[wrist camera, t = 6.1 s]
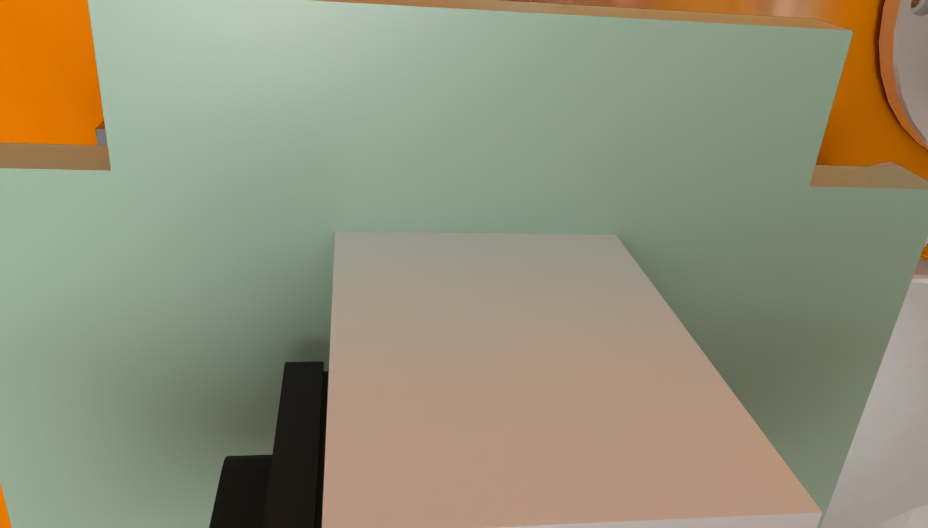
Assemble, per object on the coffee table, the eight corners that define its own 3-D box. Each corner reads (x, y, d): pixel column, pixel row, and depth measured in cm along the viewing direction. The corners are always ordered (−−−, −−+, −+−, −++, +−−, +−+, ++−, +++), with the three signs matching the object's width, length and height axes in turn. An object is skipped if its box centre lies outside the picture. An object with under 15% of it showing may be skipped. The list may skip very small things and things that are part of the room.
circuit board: (949, 26, 11) (1556, 177, 6) (757, 597, 17) (972, 975, 11) (-81, -34, 9) (-773, 107, 4) (70, 640, 15) (-113, 1134, 9)
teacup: (842, 443, 36) (958, 580, 29) (588, 438, 34) (647, 584, 27) (971, 136, 30) (1160, 217, 23) (667, 109, 28) (770, 188, 21)
